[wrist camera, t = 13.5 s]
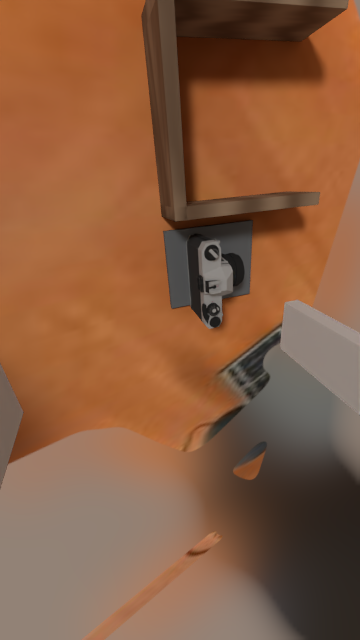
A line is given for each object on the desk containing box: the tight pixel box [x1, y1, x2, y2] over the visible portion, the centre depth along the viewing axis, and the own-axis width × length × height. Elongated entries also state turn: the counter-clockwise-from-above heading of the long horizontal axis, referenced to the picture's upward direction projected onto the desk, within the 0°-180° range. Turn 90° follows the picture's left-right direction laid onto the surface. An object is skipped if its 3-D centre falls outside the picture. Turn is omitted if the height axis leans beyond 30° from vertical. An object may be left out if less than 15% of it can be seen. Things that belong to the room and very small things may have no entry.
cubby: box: [142, 0, 349, 222], centre depth 32 cm, size 20×20×7 cm
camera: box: [186, 234, 245, 329], centre depth 39 cm, size 13×8×9 cm, turn 8°
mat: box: [163, 220, 253, 308], centre depth 42 cm, size 14×12×1 cm
